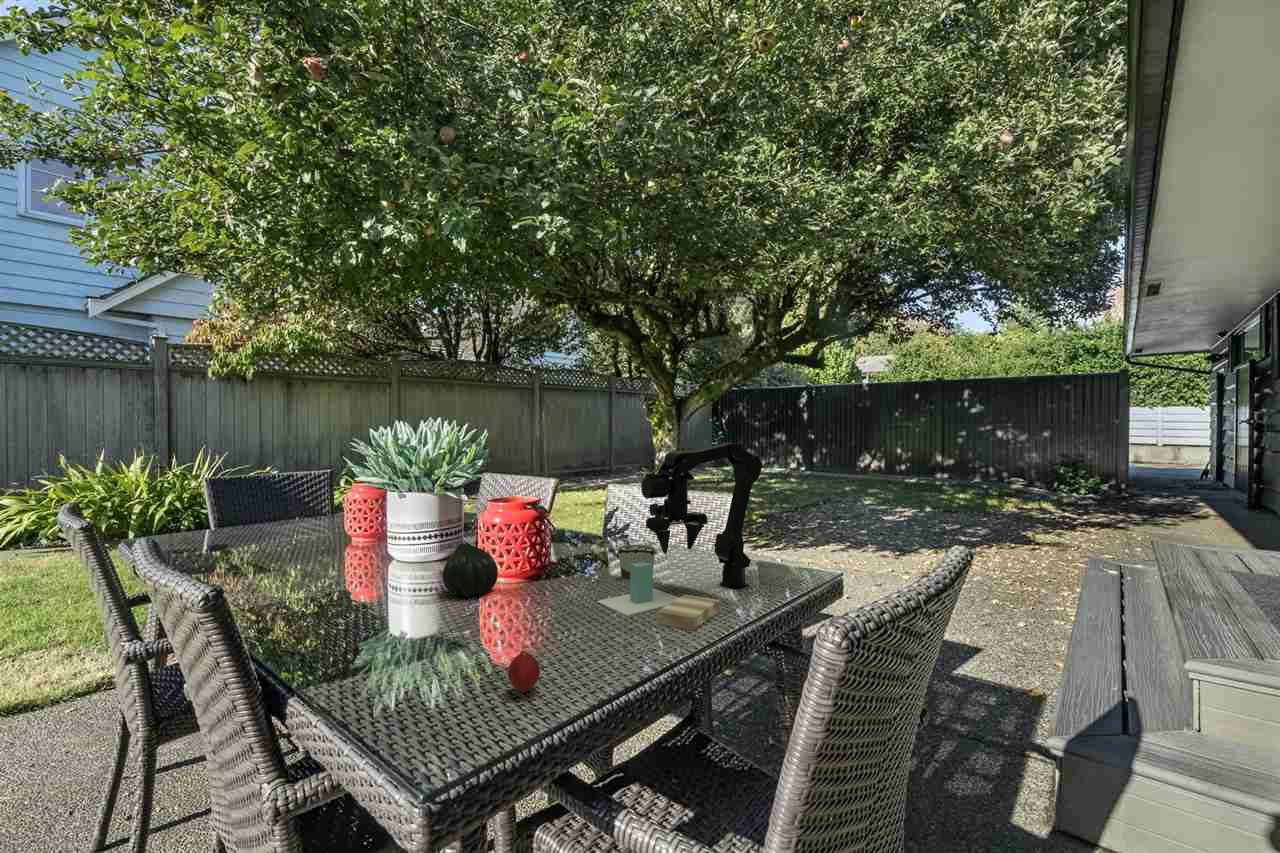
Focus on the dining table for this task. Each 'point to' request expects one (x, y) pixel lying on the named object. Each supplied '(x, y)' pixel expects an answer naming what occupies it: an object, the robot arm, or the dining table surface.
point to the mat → (631, 608)
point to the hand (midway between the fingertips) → (677, 551)
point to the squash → (469, 571)
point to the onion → (523, 671)
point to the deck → (688, 612)
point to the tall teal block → (641, 582)
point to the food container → (634, 557)
